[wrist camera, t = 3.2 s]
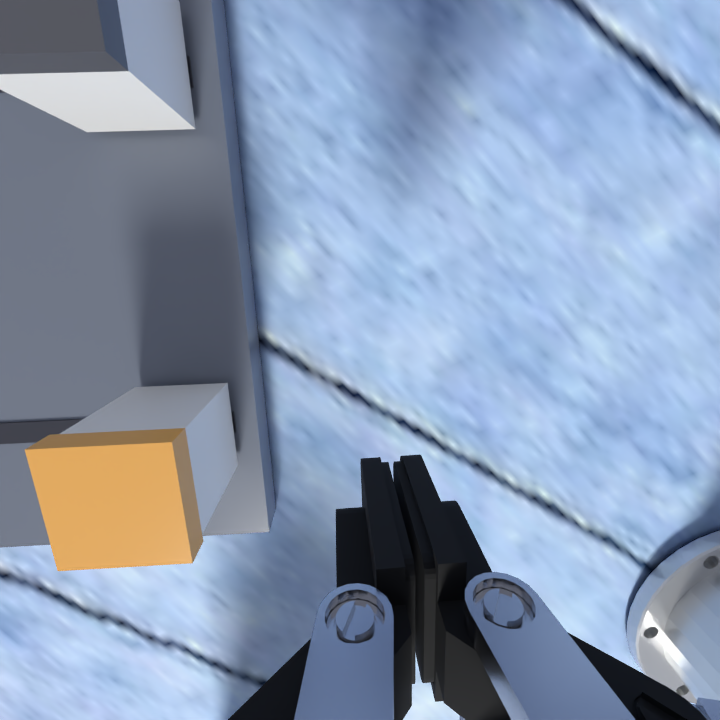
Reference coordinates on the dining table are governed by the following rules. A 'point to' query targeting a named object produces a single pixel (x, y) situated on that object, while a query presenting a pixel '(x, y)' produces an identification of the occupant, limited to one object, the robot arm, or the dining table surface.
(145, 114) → the block
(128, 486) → the fader orange
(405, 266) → the dining table surface
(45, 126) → the console
